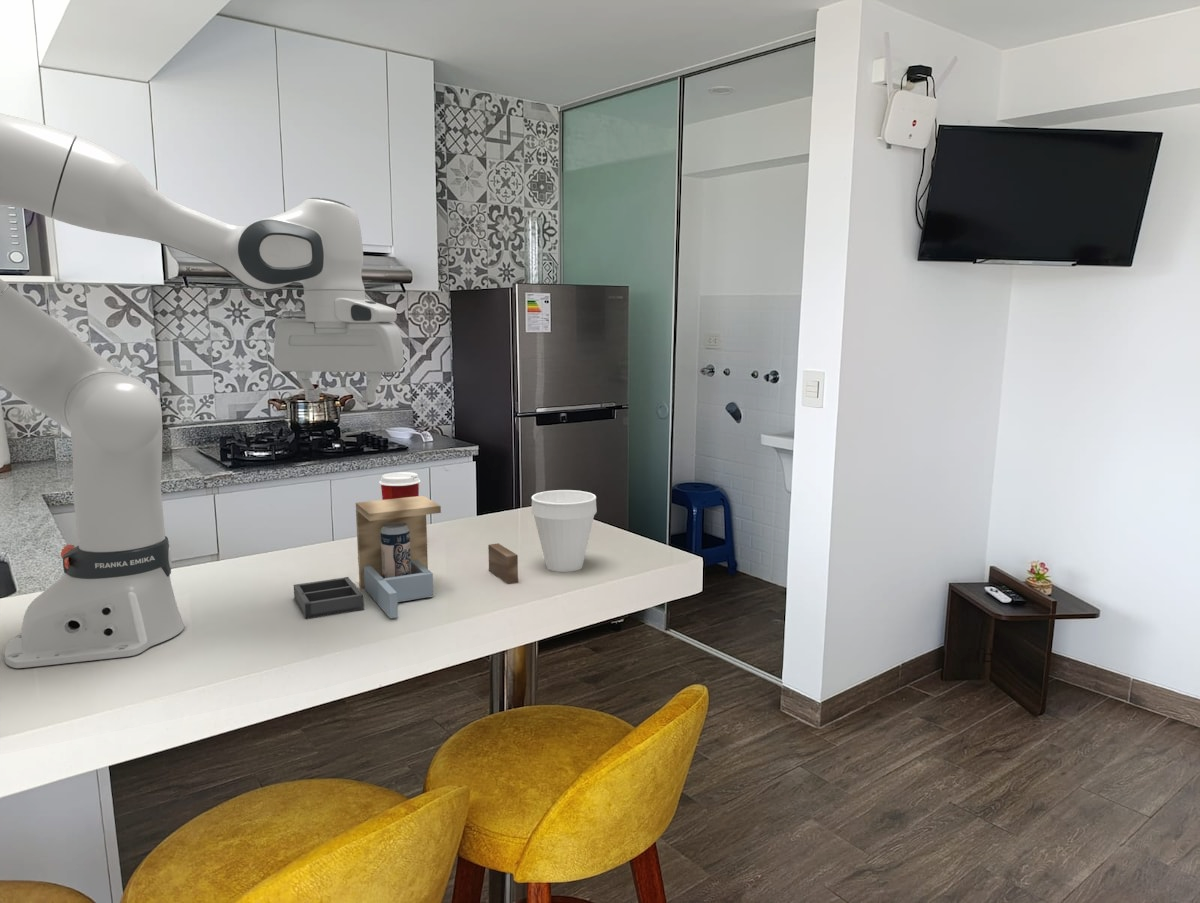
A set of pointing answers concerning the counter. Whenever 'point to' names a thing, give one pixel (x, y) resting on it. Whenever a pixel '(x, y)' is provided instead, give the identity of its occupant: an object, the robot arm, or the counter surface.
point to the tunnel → (389, 511)
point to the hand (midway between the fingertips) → (340, 401)
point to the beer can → (395, 550)
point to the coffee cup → (399, 485)
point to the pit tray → (328, 597)
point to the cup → (564, 526)
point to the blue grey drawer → (398, 587)
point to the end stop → (503, 563)
